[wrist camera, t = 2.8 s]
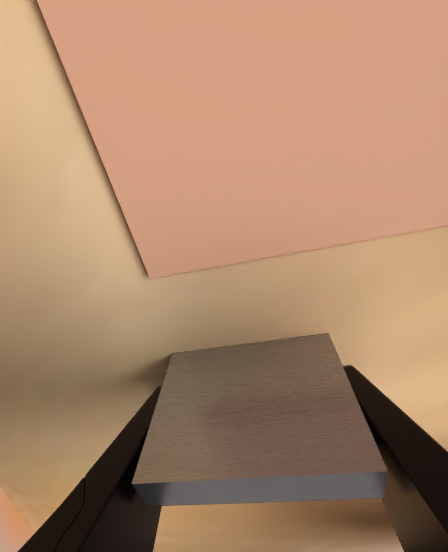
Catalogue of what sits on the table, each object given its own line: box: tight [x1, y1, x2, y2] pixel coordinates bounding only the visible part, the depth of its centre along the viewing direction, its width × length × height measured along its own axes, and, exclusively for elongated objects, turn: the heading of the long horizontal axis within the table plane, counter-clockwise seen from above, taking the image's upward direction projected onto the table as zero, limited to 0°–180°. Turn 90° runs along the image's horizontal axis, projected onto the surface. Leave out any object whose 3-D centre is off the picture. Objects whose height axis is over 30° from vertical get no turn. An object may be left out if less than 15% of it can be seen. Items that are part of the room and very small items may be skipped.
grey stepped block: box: [132, 333, 388, 506], centre depth 9 cm, size 6×4×4 cm, turn 103°
